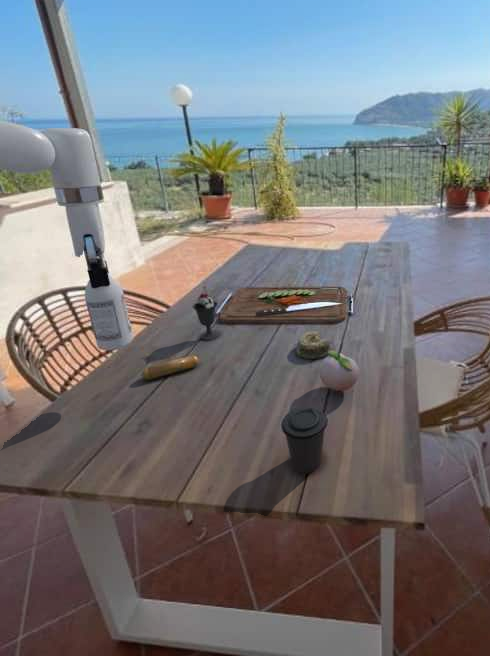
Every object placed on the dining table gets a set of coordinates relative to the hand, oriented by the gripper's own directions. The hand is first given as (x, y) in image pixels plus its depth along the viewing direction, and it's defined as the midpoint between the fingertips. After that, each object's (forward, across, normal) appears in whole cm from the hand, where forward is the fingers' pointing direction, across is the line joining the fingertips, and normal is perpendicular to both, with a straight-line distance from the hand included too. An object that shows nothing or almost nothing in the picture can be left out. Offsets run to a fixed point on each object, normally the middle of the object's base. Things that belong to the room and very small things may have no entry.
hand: (101, 282), depth 82 cm
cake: (+27, +7, +45) cm, 53 cm away
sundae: (+27, -16, +22) cm, 38 cm away
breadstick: (+27, -1, +10) cm, 29 cm away
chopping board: (+27, -24, +50) cm, 61 cm away
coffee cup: (+27, +42, +27) cm, 56 cm away
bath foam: (+15, 0, 0) cm, 15 cm away
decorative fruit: (+27, +26, +42) cm, 57 cm away
